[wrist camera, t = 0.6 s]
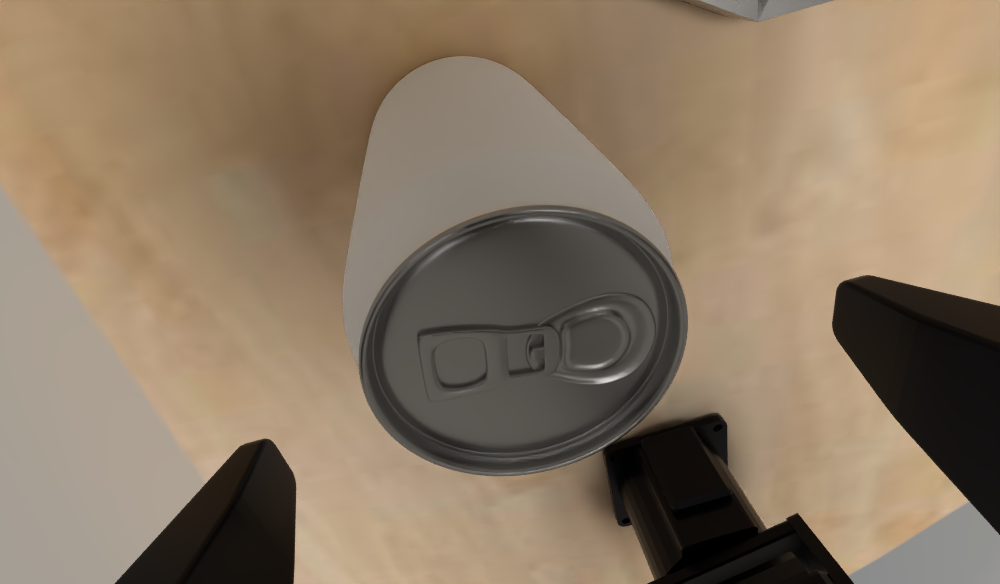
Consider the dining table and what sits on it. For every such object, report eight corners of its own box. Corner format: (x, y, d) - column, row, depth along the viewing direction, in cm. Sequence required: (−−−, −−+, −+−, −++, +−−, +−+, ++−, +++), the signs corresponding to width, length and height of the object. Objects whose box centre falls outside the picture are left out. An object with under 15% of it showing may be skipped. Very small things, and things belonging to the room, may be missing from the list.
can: (553, 223, 21) (690, 462, 11) (387, 244, 21) (372, 517, 11) (550, 43, 18) (743, 153, 8) (351, 62, 17) (279, 207, 7)
